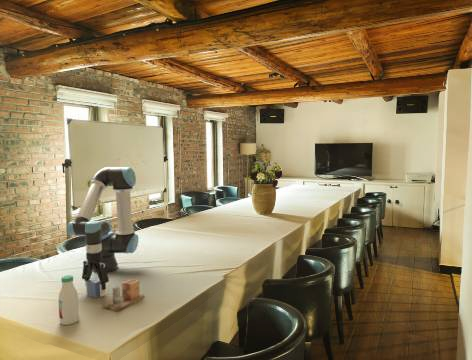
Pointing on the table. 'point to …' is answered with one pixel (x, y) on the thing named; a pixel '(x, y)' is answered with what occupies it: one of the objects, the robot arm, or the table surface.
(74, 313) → the milk bottle
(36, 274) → the table surface
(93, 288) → the slate blue cube
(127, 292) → the organizer
